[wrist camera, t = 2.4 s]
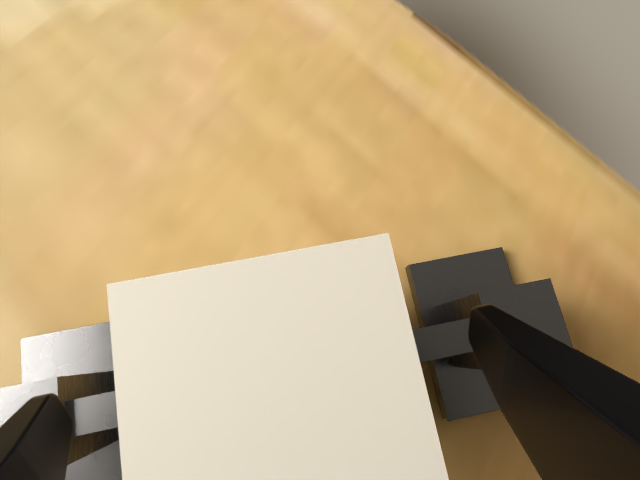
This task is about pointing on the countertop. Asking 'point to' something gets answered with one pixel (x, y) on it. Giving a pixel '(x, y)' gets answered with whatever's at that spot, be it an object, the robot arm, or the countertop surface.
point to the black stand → (431, 338)
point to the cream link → (273, 370)
